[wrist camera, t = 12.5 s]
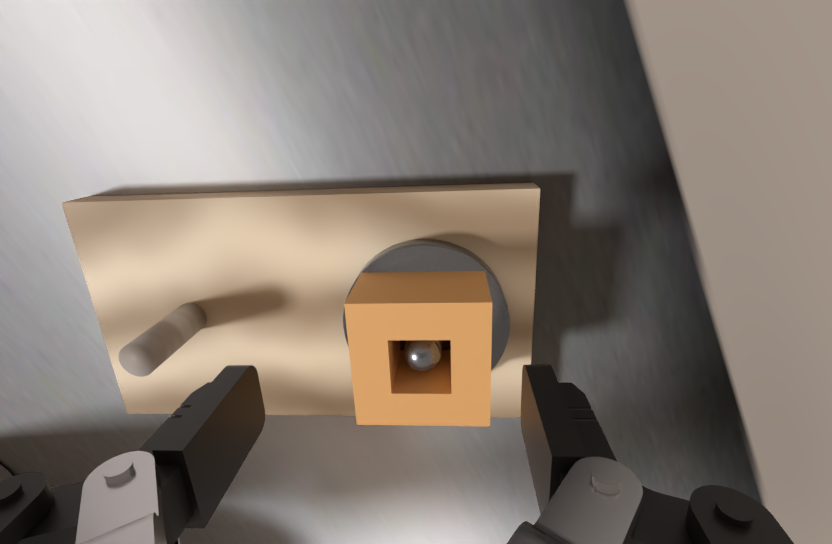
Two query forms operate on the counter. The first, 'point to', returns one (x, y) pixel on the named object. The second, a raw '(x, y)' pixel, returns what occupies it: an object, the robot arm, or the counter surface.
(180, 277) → the stand board
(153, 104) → the counter surface
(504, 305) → the hub
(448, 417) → the collar
